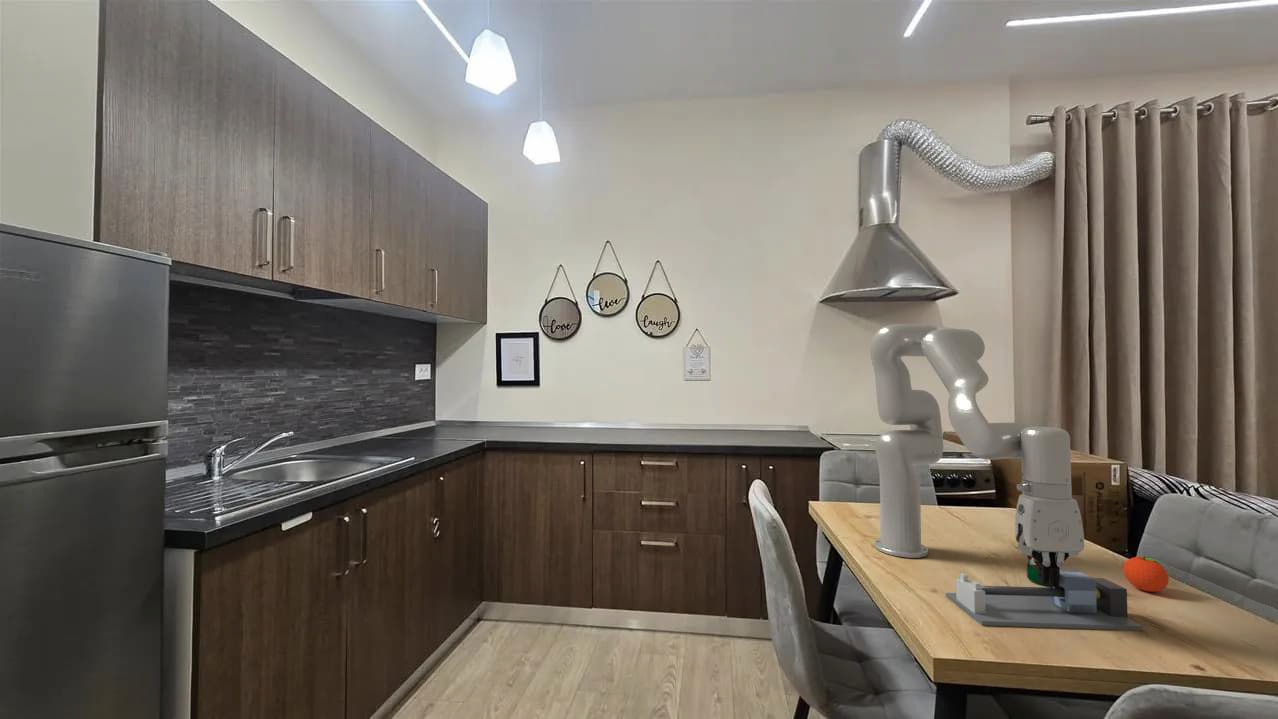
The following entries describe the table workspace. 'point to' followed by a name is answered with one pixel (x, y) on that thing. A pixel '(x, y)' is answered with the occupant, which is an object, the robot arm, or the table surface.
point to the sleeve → (1076, 592)
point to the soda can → (1032, 570)
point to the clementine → (1146, 574)
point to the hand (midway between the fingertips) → (1048, 584)
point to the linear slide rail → (1041, 606)
